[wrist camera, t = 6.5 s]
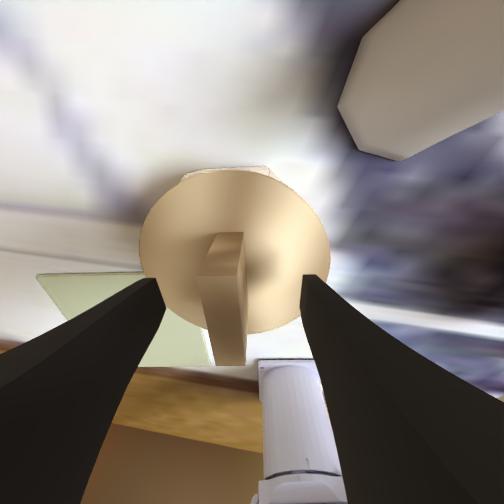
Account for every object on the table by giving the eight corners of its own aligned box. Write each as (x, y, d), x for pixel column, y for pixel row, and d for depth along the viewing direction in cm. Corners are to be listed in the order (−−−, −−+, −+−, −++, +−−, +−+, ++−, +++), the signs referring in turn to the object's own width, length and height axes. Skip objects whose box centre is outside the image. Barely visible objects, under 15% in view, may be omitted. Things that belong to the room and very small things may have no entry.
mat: (210, 363, 23) (209, 366, 23) (103, 363, 24) (101, 366, 23) (187, 271, 16) (186, 273, 16) (40, 274, 17) (35, 277, 17)
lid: (340, 164, 9) (421, 174, 5) (313, 323, 14) (338, 398, 10) (120, 173, 9) (-1, 190, 5) (172, 324, 15) (136, 397, 10)
